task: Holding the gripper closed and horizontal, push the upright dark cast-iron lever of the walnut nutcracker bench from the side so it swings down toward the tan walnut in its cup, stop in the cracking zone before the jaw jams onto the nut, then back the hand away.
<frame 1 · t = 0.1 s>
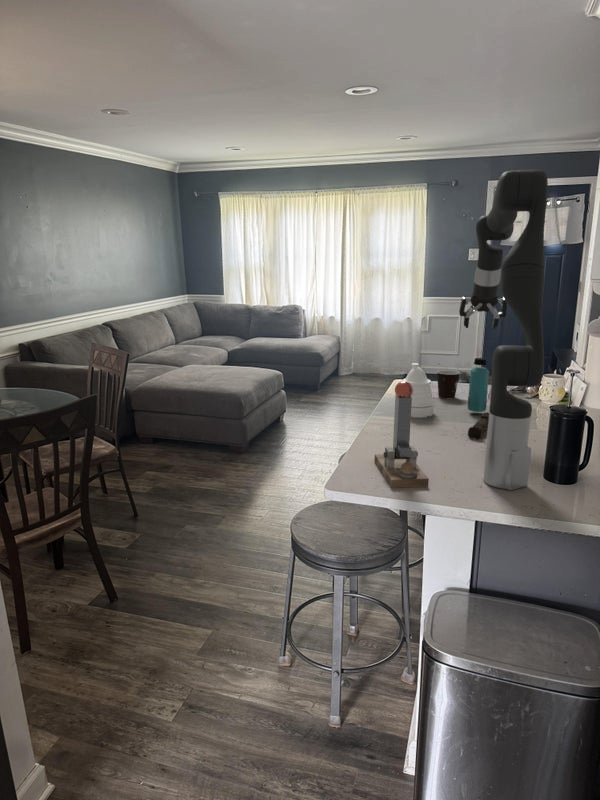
hand: (480, 327, 178), 31 cm above the kitchen counter, tool tilted 20°, fingers open, 8 cm apart
hand tool: (478, 432, 173), on the kitchen counter
cracker bench: (399, 473, 137), on the kitchen counter
lever: (403, 421, 133), point 14 cm above the kitchen counter, hinge at 0.0°
coffee mug: (444, 397, 217), on the kitchen counter
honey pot: (414, 413, 194), on the kitchen counter
beverage bottle: (476, 414, 193), on the kitchen counter
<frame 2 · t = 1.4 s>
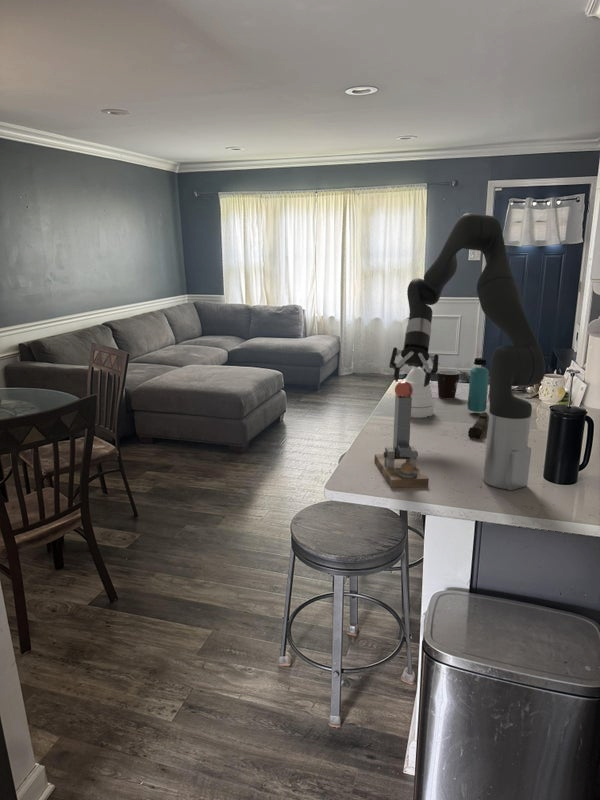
hand: (411, 383, 161), 17 cm above the kitchen counter, tool tilted 35°, fingers open, 8 cm apart
nothing on the kitchen counter moved.
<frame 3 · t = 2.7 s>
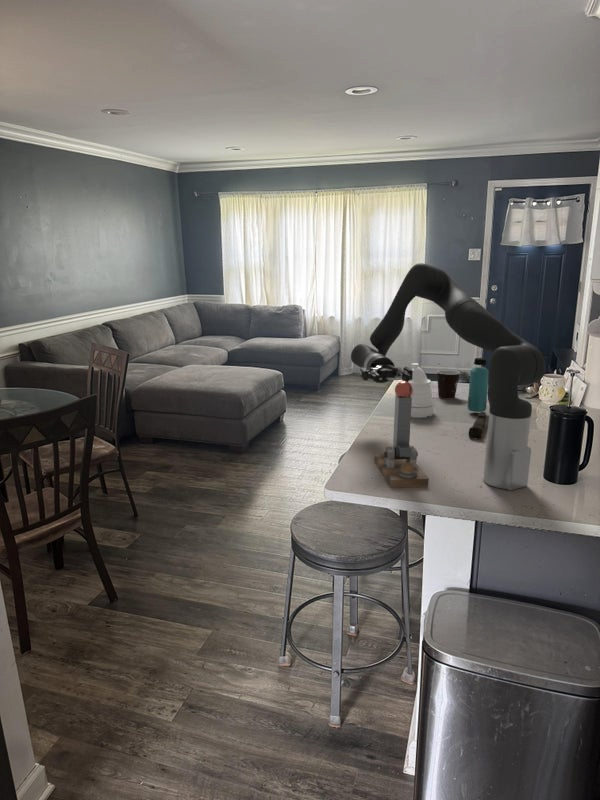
hand: (392, 378, 142), 22 cm above the kitchen counter, tool horizontal, fingers open, 7 cm apart
nothing on the kitchen counter moved.
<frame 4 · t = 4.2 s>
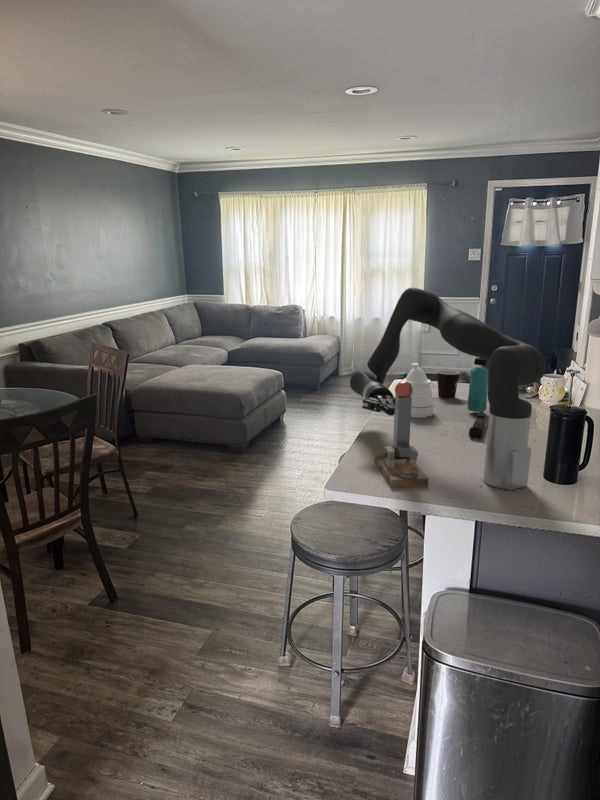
hand: (391, 411, 144), 13 cm above the kitchen counter, tool horizontal, fingers closed
nothing on the kitchen counter moved.
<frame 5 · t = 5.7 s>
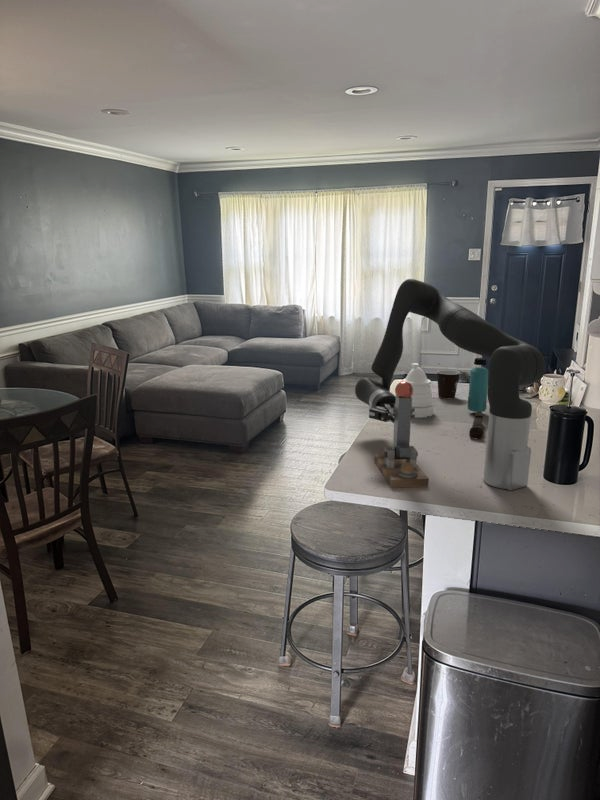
hand: (400, 421, 135), 13 cm above the kitchen counter, tool horizontal, fingers closed
lever: (403, 422, 133), point 14 cm above the kitchen counter, hinge at 0.9°, touching gripper
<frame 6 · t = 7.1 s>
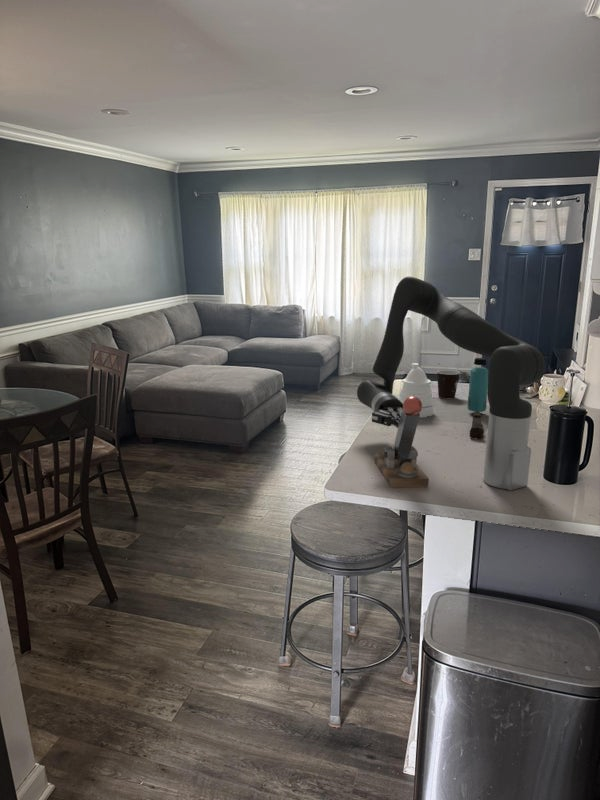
hand: (404, 426, 132), 13 cm above the kitchen counter, tool horizontal, fingers closed
lever: (407, 432, 129), point 12 cm above the kitchen counter, hinge at 28.2°, touching gripper
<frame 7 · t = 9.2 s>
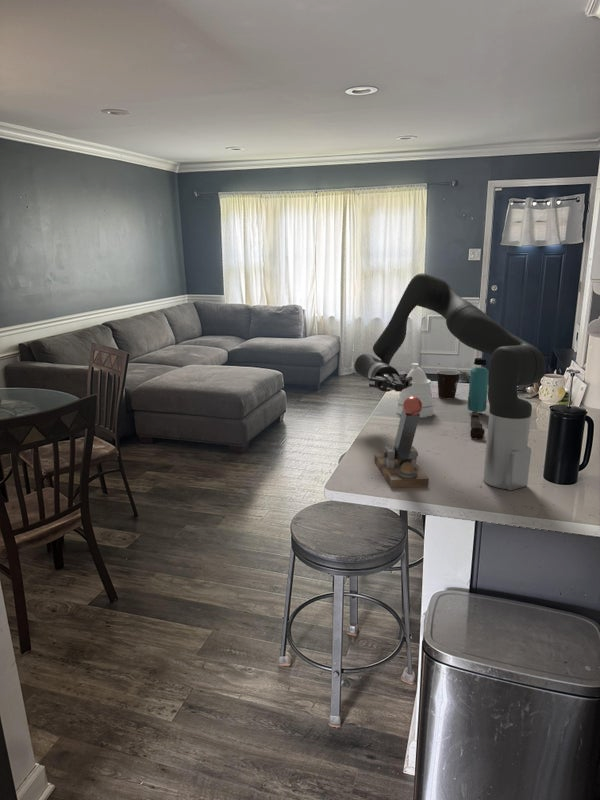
hand: (399, 387, 143), 20 cm above the kitchen counter, tool horizontal, fingers closed
lever: (407, 432, 129), point 12 cm above the kitchen counter, hinge at 28.3°
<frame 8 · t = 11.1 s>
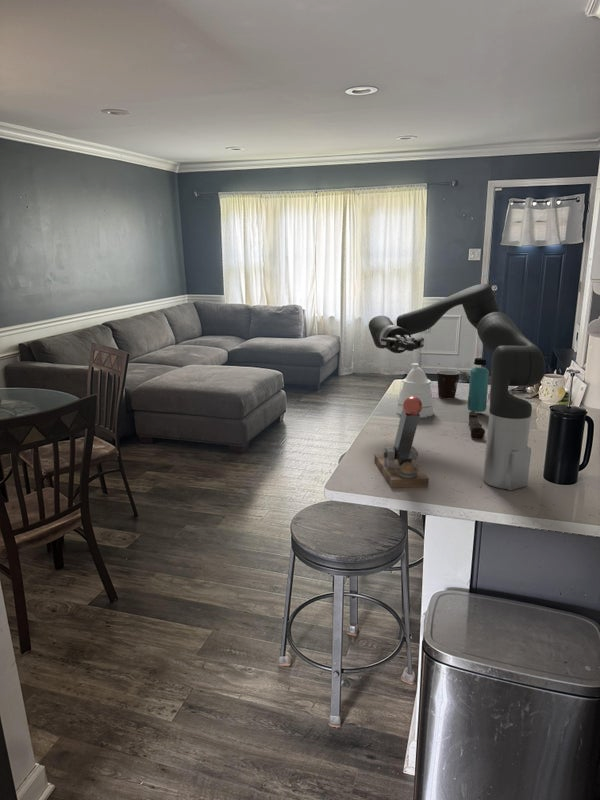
hand: (411, 347, 144), 30 cm above the kitchen counter, tool horizontal, fingers closed
at the end: lever at +28° (first picture: +0°); the gripper is holding nothing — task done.
